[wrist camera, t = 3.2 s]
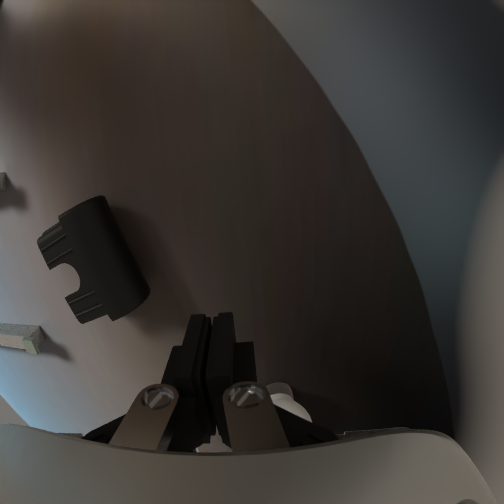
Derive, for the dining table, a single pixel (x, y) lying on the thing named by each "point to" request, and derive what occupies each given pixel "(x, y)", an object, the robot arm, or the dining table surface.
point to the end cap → (95, 261)
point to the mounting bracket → (20, 334)
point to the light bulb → (286, 399)
